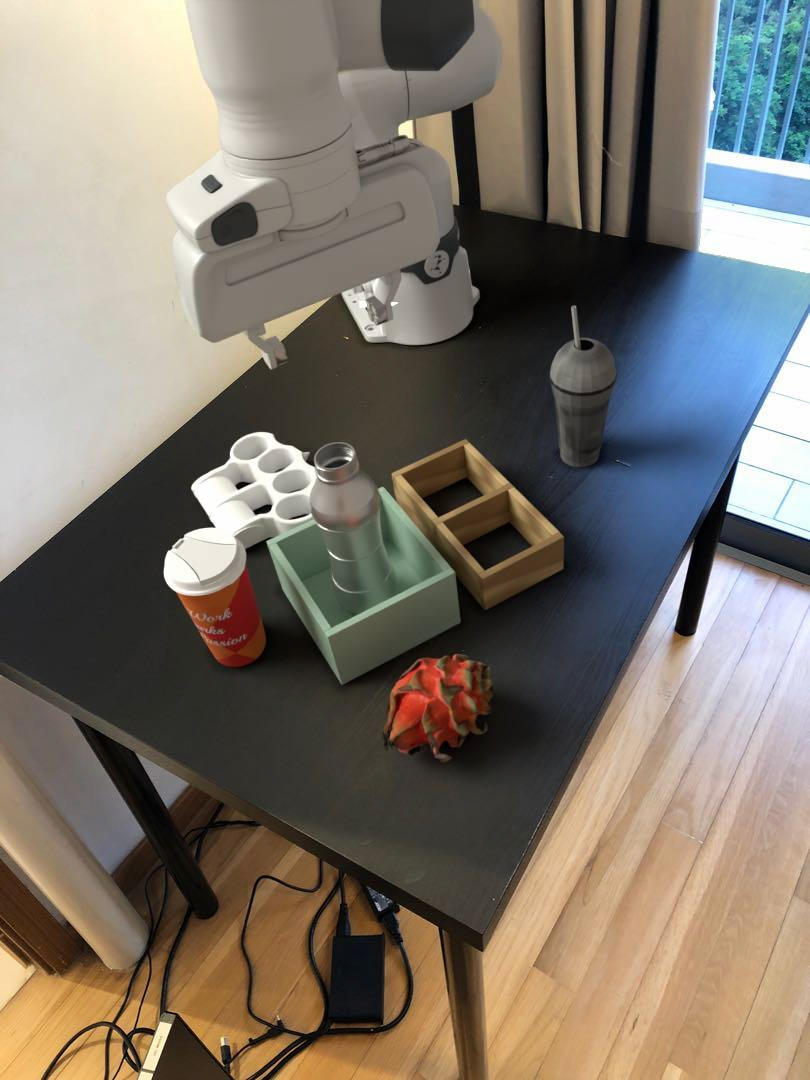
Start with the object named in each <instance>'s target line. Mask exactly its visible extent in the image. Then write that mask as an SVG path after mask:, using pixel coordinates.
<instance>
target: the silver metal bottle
mask: <svg viewBox="0 0 810 1080" xmlns="http://www.w3.org/2000/svg"><path fill="white" fill-rule="evenodd" d="M313 462H314V463H313V464H314V467H315V468H316V469H315V472H316V476H317V481H316V482H315V484H314V486H313V488H312V490H311V493H310V499H309V508H310V512H311V514H312V517H313V519H314V521H315V522H316V524H317V526H318V528H319V530H320V532H321V534H322V536H323V539H324V542H325V544H326V547H327V550H328V553H329V556H330V562H331V569H332V589H333V594H334V596H335V598H336V599H337V601H338V603H339V604H340V606H341V607H342V608H343V609H344V610H346V611H347V612H350V613H352V614H355V615H358V614H360V613H362V612H364V611H366V610H368V609H370V608H372V607H374V606H376V605H378V604H380V603H382V602H384V601H386V600H388V599H390V598H392V597H394V596H395V595H396V591H397V575H396V572H395V570H394V567H393V565H392V563H391V561H390V560H389V558H388V555H387V552H386V549H385V546H384V543H383V540H382V534H381V525H380V497H379V491H378V489H379V488H378V486H377V484H376V483H375V482H374V479H373V478H371V476H369V475H368V474H367V473H366V472H364V471H363V470H361V469H360V463H359V460H358V458H357V453H356V450H355V448H354V447H353V445H351V444H349V443H347V442H343V441H337V442H335V441H334V442H331V443H328V444H325V445H323V446H322V447H320V448H319V449H318V450H317V451H316V453H315V454H314V457H313Z"/></svg>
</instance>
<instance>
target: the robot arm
mask: <svg viewBox="0 0 810 1080" xmlns="http://www.w3.org/2000/svg"><path fill="white" fill-rule="evenodd" d="M479 4H480V0H184V5H185V10H186V15H187V19H188V24H189V29H190V33H191V38H192V42H193V47H194V50H195V54H196V58H197V61H198V66H199V69H200V72H201V76H202V78H203V80H204V82H205V84H206V86H207V87H208V89H209V90H210V93H211V95H212V96H213V99H214V102H215V106H216V111H217V117H218V120H217V121H218V123H217V134H218V141H219V144H220V145H219V146H220V148H221V149H220V150H219V151H218V152H217V153H215V154H214V155H213V156H212V157H210V159H209V160H207V161H206V162H204V163H203V164H202V165H201V166H200V167H199V168H197V169H196V170H195V171H194V172H192V173H190V174H189V175H188V176H187V177H186V178H184V179H183V180H181V181H180V182H178V183H177V184H176V185H174V186H173V187H172V188H171V189H169V191H168V192H167V194H166V197H165V201H166V207H167V209H168V212H169V215H170V216H171V219H172V221H173V222H174V224H175V226H176V227H177V229H178V230H177V231H176V232H175V235H174V238H173V239H172V246H171V256H172V257H171V258H172V265H173V270H174V271H173V272H174V277H175V281H176V286H177V290H178V293H179V297H180V300H181V306H182V308H183V311H184V314H185V317H186V318H187V320H188V322H189V324H190V326H191V327H192V329H193V330H194V331H195V333H196V334H197V335H198V336H199V337H201V338H202V339H204V340H205V341H208V342H210V343H213V344H215V343H220V342H222V341H225V340H227V339H229V338H231V337H234V336H237V335H240V334H241V333H242V334H244V335H245V337H246V338H247V339H248V340H249V341H250V342H251V343H252V344H253V345H255V346H256V347H257V348H258V349H260V352H261V355H262V359H263V360H264V362H265V364H266V366H268V368H269V369H270V370H274V369H276V368H280V367H281V366H284V365H286V364H288V363H289V358H288V357H287V352H286V347H285V345H284V344H283V343H282V342H281V341H280V338H278V337H277V335H273V336H271V337H268V338H266V337H265V336H264V335H266V333H267V330H266V327H265V324H267V323H269V322H272V321H275V320H276V319H279V318H281V317H282V318H283V317H285V316H287V315H289V314H292V313H295V312H298V311H300V310H302V309H304V308H307V307H309V306H311V305H314V304H317V303H319V302H322V301H324V300H328V299H329V298H332V297H334V296H337V295H340V294H341V297H342V299H343V301H344V303H345V305H346V307H347V308H348V310H349V312H350V314H351V316H352V317H353V319H354V321H355V323H356V325H357V327H358V328H359V331H360V332H361V334H362V336H363V338H364V340H365V341H366V342H368V343H373V344H374V343H375V344H377V343H378V344H379V343H394V344H399V345H406V346H421V345H422V346H423V345H425V346H426V345H430V344H436V343H440V342H443V341H446V340H448V339H451V338H453V337H455V336H456V335H458V334H460V333H461V332H463V331H464V330H465V329H466V328H467V327H468V325H469V324H470V323H471V321H472V320H473V317H474V307H475V305H476V304H477V303H478V301H480V299H481V293H480V290H479V288H477V287H476V286H474V285H473V284H472V278H471V270H470V266H469V259H468V253H467V250H466V249H465V248H464V247H462V246H461V245H460V229H459V225H458V220H457V218H456V216H455V215H454V214H455V213H454V200H453V191H452V188H453V187H452V177H451V169H450V166H449V164H448V162H447V160H446V159H445V157H444V156H443V155H442V154H441V153H440V152H439V151H438V150H436V149H434V148H432V147H431V146H428V145H426V144H424V143H423V142H421V140H419V139H418V138H417V139H416V138H413V137H412V138H411V137H409V136H408V135H407V134H400V133H399V132H400V131H399V127H400V125H402V124H405V123H406V122H409V121H414V120H417V119H422V118H427V117H430V116H435V115H439V114H443V113H448V112H452V111H456V110H459V109H461V108H463V107H465V106H467V105H469V104H472V103H474V102H476V101H478V100H479V99H481V98H484V97H486V96H488V95H489V94H491V93H492V91H493V90H494V89H495V86H496V84H497V82H498V80H499V77H500V74H501V71H502V66H503V45H502V39H501V37H500V33H499V30H498V28H497V26H496V24H495V22H494V20H493V19H492V18H491V17H490V15H489V14H488V13H487V12H486V11H485V10H484V9H482V7H480V6H479Z"/></svg>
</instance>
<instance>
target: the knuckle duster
mask: <svg viewBox="0 0 810 1080" xmlns="http://www.w3.org/2000/svg"><path fill="white" fill-rule="evenodd" d="M310 453H311V451H305V452H304V451H301V450H299V449H298V448H297V447H295V446H294V445H286V444H283V443H281V442H279V441H278V440H277V439H276V437H275V434H273V433H270V432H266V431H257V432H252V433H249V434H246V435H244V436H242V437H240V438H238V440H236V441H235V442H234V444H233V445H232V446H231V448H230V451H229V459H228V460H227V461H226V462H225V464H223V465H221V466H219V467H216V468H215V469H212V470H210V471H209V472H207V473H205V474H203V475H201V476H200V477H199V478H197V479H196V480H195V481H194V482H193V483H192V485H191V491H192V494H193V496H194V497H195V498H196V499H197V501H198V502H199V504H200V506H201V507H202V509H203V510H204V511H205V513H206V515H207V516H208V519H209V520H210V522H211V523H212V524H213V526H214V528H218V529H222V530H225V531H227V532H229V533H230V534H231V535H233V536H234V537H235V538H236V539H238V540H239V541H240V542H241V543H242V544H243V546H244V548H245V550H246V549H248V548H250V547H252V546H254V545H256V544H258V543H260V542H262V541H264V540H266V539H268V538H274V537H276V536H278V535H281V534H283V533H285V532H287V531H289V530H291V529H293V528H296V527H298V526H300V525H302V524H304V523H306V522H308V521H311V520H313V517H312V514H311V512H310V508H309V499H310V493H311V490H312V488H313V486H314V484H315V482H316V481H317V476H316V472H315V469H316V467H315V466H313V465H311V464H309V463H307V460H308V457H309V456H310ZM239 483H246V484H247V483H249V484H248V485H246V486H244V487H242V488H240V489H238V488H237V486H236V485H238V484H239ZM266 505H267V506H268V505H270V506H271V510H270V511H268V512H266V513H259V514H256V513H255V512H254V511H255V510H257V509H260V508H261V507H264V506H266ZM304 515H305V516H304ZM300 516H302V517H300ZM295 517H299V518H295ZM293 518H295V519H293Z"/></svg>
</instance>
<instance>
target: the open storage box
mask: <svg viewBox="0 0 810 1080" xmlns="http://www.w3.org/2000/svg"><path fill="white" fill-rule="evenodd" d="M378 491H379V497H380V525H381V534H382V540H383V543H384V546H385V549H386V552H387V555H388V558H389V560H390V561H391V563H392V565H393V567H394V570H395V572H396V575H397V591H396V595H395V596H394V597H392V598H390V599H388V600H386V601H384V602H382V603H380V604H378V605H376V606H374V607H372V608H370V609H368V610H366V611H364V612H362V613H360V614H358V615H355V614H352V613H350V612H347V611H346V610H344V609H343V608H342V607H341V606H340V604H339V603H338V601H337V599H336V598H335V596H334V594H333V589H332V569H331V562H330V556H329V553H328V550H327V547H326V544H325V542H324V539H323V536H322V534H321V532H320V530H319V528H318V526H317V524H316V522H315V521H314V519H313V520H311V521H308V522H306V523H304V524H302V525H300V526H298V527H296V528H293V529H291V530H289V531H287V532H285V533H283V534H281V535H278V536H276V537H271V538H270V539H268V540H266V546H267V549H268V550H269V553H270V556H271V560H272V562H273V566H274V568H275V571H276V575H277V577H278V581H279V583H280V586H281V590H282V591H283V593H284V594H285V596H286V598H287V599H288V601H289V603H290V604H291V606H292V607H293V609H294V610H295V612H296V614H297V615H298V617H299V618H300V620H301V622H302V623H303V625H304V626H305V629H306V630H307V631H308V633H309V634H310V636H311V638H312V640H313V641H314V642H315V644H316V646H317V648H318V650H319V651H320V652H321V654H322V656H323V657H324V659H325V661H326V662H327V664H328V665H329V667H330V668H331V670H332V672H333V674H334V675H335V677H336V678H337V679H338V681H339V683H340V685H341V686H343V685H345V684H347V683H349V682H350V681H353V680H354V679H356V678H358V677H361V676H362V675H364V674H366V673H367V672H369V671H371V670H373V669H375V668H377V667H379V666H381V665H383V664H385V663H387V662H389V661H390V660H393V659H394V658H397V657H398V656H400V655H402V654H404V653H405V652H408V651H409V650H411V649H413V648H415V647H417V646H420V645H421V644H422V643H425V642H426V641H428V640H430V639H432V638H434V637H436V636H437V635H439V634H442V633H443V632H445V631H447V630H449V629H451V628H453V627H455V626H457V625H459V624H461V622H462V621H461V620H462V619H461V613H460V604H459V595H458V594H459V593H458V586H457V578H456V577H457V576H456V575H455V572H454V571H453V569H452V568H451V567H450V566H449V564H448V563H447V562H446V561H445V560H444V558H443V557H442V556H441V555H440V554H439V552H438V551H437V550H436V549H435V548H434V546H433V545H432V544H431V543H430V542H429V540H428V539H427V538H426V537H425V536H424V535H423V533H422V532H421V531H420V530H419V529H418V527H417V526H416V525H415V524H414V523H413V521H412V520H411V519H410V518H409V517H408V515H407V514H406V513H405V512H404V511H403V509H402V508H401V507H400V506H399V505H398V503H397V502H396V499H395V498H394V497H393V496H392V495H391V493H390V492H388V490H387V489H386V488H385V487H384V486H381V487H379V488H378Z"/></svg>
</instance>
